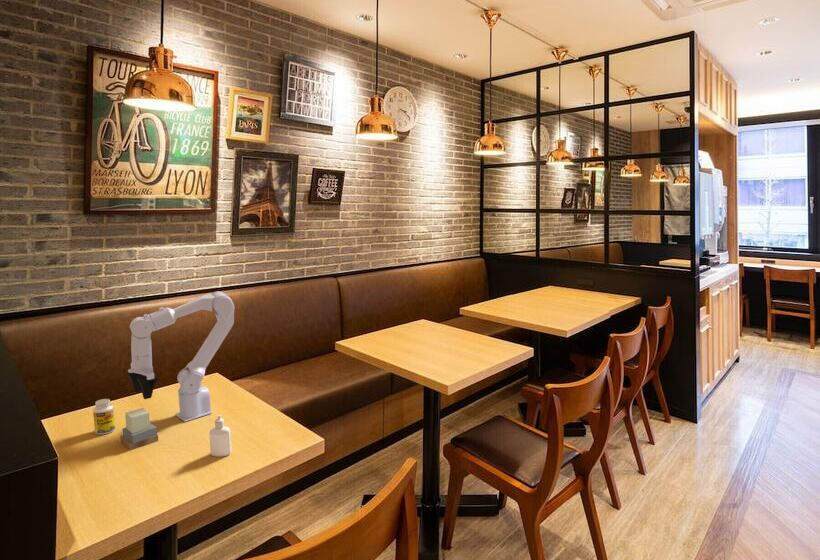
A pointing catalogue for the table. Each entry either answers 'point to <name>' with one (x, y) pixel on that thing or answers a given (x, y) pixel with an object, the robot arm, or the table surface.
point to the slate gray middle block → (140, 434)
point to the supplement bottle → (103, 417)
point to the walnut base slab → (138, 444)
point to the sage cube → (137, 420)
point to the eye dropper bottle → (220, 439)
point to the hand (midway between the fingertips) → (142, 394)
